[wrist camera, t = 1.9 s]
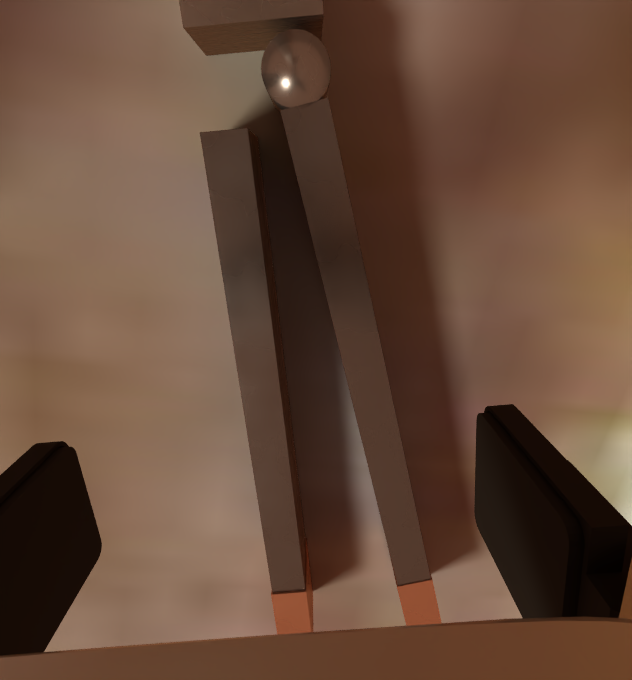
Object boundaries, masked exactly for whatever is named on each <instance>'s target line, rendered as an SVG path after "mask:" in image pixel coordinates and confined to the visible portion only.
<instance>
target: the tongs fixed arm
mask: <svg viewBox="0 0 632 680" xmlns="http://www.w3.org/2000/svg"><path fill="white" fill-rule="evenodd" d="M179 3H180V10H181V16H182V22H183V28H184V29H185V30H186V32H187V33H188V34H189V35H190V36H191V38H192V39H193V40H194V41H195V43H196V44H197V45H198V46H199V47H200V49H201V50H202V51H203V52H204V53H205V55H206V56H208V55H218V54H229V53H239V52H249V51H260V50H266V48H267V46H268V44H269V43H270V42H271V40H272V39H273V38H274V37H276V36H277V35H278V34H280V33H282V32H284V31H287V30H291V29H300V30H305V31H307V32H310V33H311V34H313V35H315V36H316V37H317V38H318V39H319V40H320V41H321V36H322V25H323V15H324V13H323V0H179ZM200 137H201V143H202V149H203V156H204V162H205V168H206V175H207V181H208V187H209V194H210V200H211V206H212V213H213V219H214V225H215V232H216V238H217V244H218V251H219V257H220V263H221V270H222V276H223V282H224V289H225V295H226V301H227V308H228V314H229V321H230V327H231V333H232V340H233V346H234V352H235V359H236V365H237V371H238V378H239V384H240V390H241V397H242V403H243V409H244V416H245V422H246V428H247V435H248V441H249V447H250V454H251V460H252V466H253V473H254V479H255V485H256V492H257V498H258V504H259V511H260V517H261V523H262V530H263V536H264V542H265V549H266V555H267V562H268V568H269V574H270V581H271V587H272V592H271V596H272V602H273V609H274V615H275V621H276V628H277V634H291V633H306V632H313V589H312V581H311V572H310V564H309V555H308V547H307V538H305V529H304V521H303V512H302V504H301V496H300V487H299V479H298V470H297V462H296V453H295V445H294V437H293V428H292V420H291V411H290V403H289V395H288V386H287V378H286V369H285V361H284V352H283V344H282V336H281V327H280V319H279V310H278V302H277V294H276V285H275V277H274V268H273V260H272V251H271V243H270V235H269V226H268V218H267V209H266V201H265V192H264V184H263V176H262V167H261V159H260V150H259V142H258V137H257V136H256V135H255V134H254V133H253V132H251V131H250V130H249V129H248V128H242V129H232V130H221V131H210V132H200Z"/></svg>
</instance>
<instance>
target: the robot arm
mask: <svg viewBox="0 0 632 680" xmlns="http://www.w3.org/2000/svg"><path fill="white" fill-rule="evenodd" d="M475 519H476V523H477V527H478V529H479V531H480V533H481V535H482V537H483V539H484V541H485V543H486V545H487V547H488V549H489V551H490V553H491V555H492V557H493V559H494V561H495V563H496V565H497V567H498V569H499V571H500V573H501V575H502V577H503V579H504V581H505V583H506V585H507V587H508V589H509V591H510V593H511V595H512V597H513V599H514V601H515V603H516V605H517V607H518V609H519V611H520V613H521V615H522V617H523V618H522V619H499V620H484V621H469V622H454V623H439V624H424V625H409V626H395V627H380V628H365V629H350V630H335V631H321V632H306V633H291V634H278V635H264V636H250V637H236V638H223V639H209V640H196V641H182V642H169V643H156V644H142V645H129V646H116V647H104V648H91V649H79V650H66V651H54V652H44V651H45V649H46V647H47V645H48V644H49V642H50V640H51V639H52V637H53V635H54V634H55V632H56V630H57V628H58V627H59V625H60V623H61V622H62V620H63V618H64V616H65V615H66V613H67V611H68V610H69V608H70V606H71V605H72V603H73V601H74V599H75V598H76V596H77V594H78V593H79V591H80V589H81V587H82V586H83V584H84V582H85V581H86V579H87V577H88V576H89V574H90V572H91V570H92V569H93V567H94V565H95V564H96V562H97V560H98V558H99V556H100V553H101V547H102V543H101V538H100V534H99V531H98V527H97V524H96V520H95V517H94V513H93V510H92V506H91V503H90V499H89V496H88V492H87V489H86V485H85V482H84V478H83V475H82V471H81V468H80V464H79V461H78V457H77V453H76V451H75V449H74V448H72V447H69V446H68V445H67V444H66V443H65V442H63V441H60V442H48V443H37V444H35V445H33V446H32V447H31V448H30V449H29V450H28V451H27V452H26V453H24V454H23V455H22V456H21V457H20V458H19V459H18V460H17V461H16V462H14V463H13V464H12V465H11V466H10V467H9V468H8V469H7V470H6V471H4V472H3V473H2V474H1V475H0V680H632V526H631V525H630V524H629V523H628V522H627V520H626V519H625V518H624V517H623V516H622V515H621V514H620V513H619V512H618V511H617V510H616V509H615V508H614V507H613V506H612V505H611V504H610V503H609V502H608V501H607V500H606V499H605V498H604V497H603V496H602V495H601V494H600V493H599V491H598V490H597V489H596V488H595V487H594V486H593V485H592V484H591V483H590V482H589V481H588V480H587V479H586V478H585V477H584V476H583V475H582V474H581V473H580V472H579V471H578V470H577V469H576V468H575V467H574V466H573V465H572V464H571V463H570V462H569V461H568V460H566V459H565V458H564V457H563V456H562V455H561V453H560V452H559V451H558V450H557V449H556V448H555V447H554V446H553V445H552V444H551V443H550V442H549V441H548V440H547V439H546V438H545V437H544V436H543V435H542V434H541V433H540V432H539V431H538V430H537V428H536V427H535V426H534V425H533V424H532V423H531V422H530V421H529V420H528V419H527V418H526V417H525V416H524V415H523V414H522V413H521V412H520V411H519V410H518V409H517V408H516V407H515V406H514V405H513V404H509V405H497V406H487V407H486V408H485V411H484V413H479V414H478V415H477V427H476V468H475Z"/></svg>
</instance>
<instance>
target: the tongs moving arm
mask: <svg viewBox="0 0 632 680" xmlns="http://www.w3.org/2000/svg"><path fill="white" fill-rule="evenodd" d="M261 70H262V78H263V81H264V84H265V87H266V89H267V91H268V93H269V96H270V98H271V100H272V102H273V104H274V106H275V108H276V109H277V111H278V112H279V113H280V114H281V116H282V120H283V124H284V128H285V132H286V136H287V140H288V144H289V148H290V152H291V156H292V160H293V164H294V168H295V172H296V176H297V180H298V184H299V188H300V192H301V196H302V200H303V205H304V209H305V213H306V217H307V221H308V225H309V229H310V233H311V237H312V241H313V245H314V249H315V253H316V257H317V261H318V265H319V269H320V273H321V277H322V281H323V285H324V289H325V293H326V297H327V302H328V306H329V310H330V314H331V318H332V322H333V326H334V330H335V334H336V338H337V342H338V346H339V350H340V354H341V358H342V362H343V366H344V370H345V374H346V378H347V382H348V386H349V390H350V394H351V399H352V403H353V407H354V411H355V415H356V419H357V423H358V427H359V431H360V435H361V439H362V443H363V447H364V451H365V455H366V459H367V463H368V467H369V471H370V475H371V479H372V483H373V487H374V492H375V496H376V500H377V504H378V508H379V512H380V516H381V520H382V524H383V528H384V532H385V536H386V540H387V544H388V548H389V553H390V557H391V562H392V566H393V571H394V576H395V580H396V585H397V589H398V593H399V597H400V601H401V605H402V609H403V613H404V617H405V621H406V625H407V626H409V625H424V624H439V623H441V619H440V614H439V609H438V605H437V600H436V595H435V590H434V586H433V581H432V577H431V574H430V571H429V568H428V563H427V558H426V554H425V549H424V544H423V540H422V535H421V530H420V526H419V521H418V516H417V512H416V507H415V502H414V497H413V493H412V488H411V483H410V479H409V474H408V469H407V465H406V460H405V455H404V451H403V446H402V441H401V437H400V432H399V427H398V422H397V418H396V413H395V408H394V404H393V399H392V394H391V390H390V385H389V380H388V376H387V371H386V366H385V362H384V357H383V352H382V347H381V343H380V338H379V333H378V329H377V324H376V319H375V315H374V310H373V305H372V301H371V296H370V291H369V287H368V282H367V277H366V272H365V268H364V263H363V258H362V254H361V249H360V244H359V240H358V235H357V230H356V226H355V221H354V216H353V212H352V207H351V202H350V197H349V193H348V188H347V183H346V179H345V174H344V169H343V165H342V160H341V155H340V151H339V146H338V141H337V137H336V132H335V127H334V123H333V118H332V113H331V108H330V104H329V99H328V98H326V94H327V90H328V85H329V81H330V76H331V63H330V58H329V55H328V52H327V50H326V48H325V46H324V45H323V43H322V42H321V41H320V40H319V39H318V38H317V37H316V36H315V35H313V34H311V33H310V32H307V31H305V30H300V29H291V30H287V31H284V32H282V33H280V34H278V35H277V36H276V37H274V38H273V39H272V40H271V42H270V43H269V44H268V46H267V48H266V50H265V52H264V55H263V58H262V66H261Z"/></svg>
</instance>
